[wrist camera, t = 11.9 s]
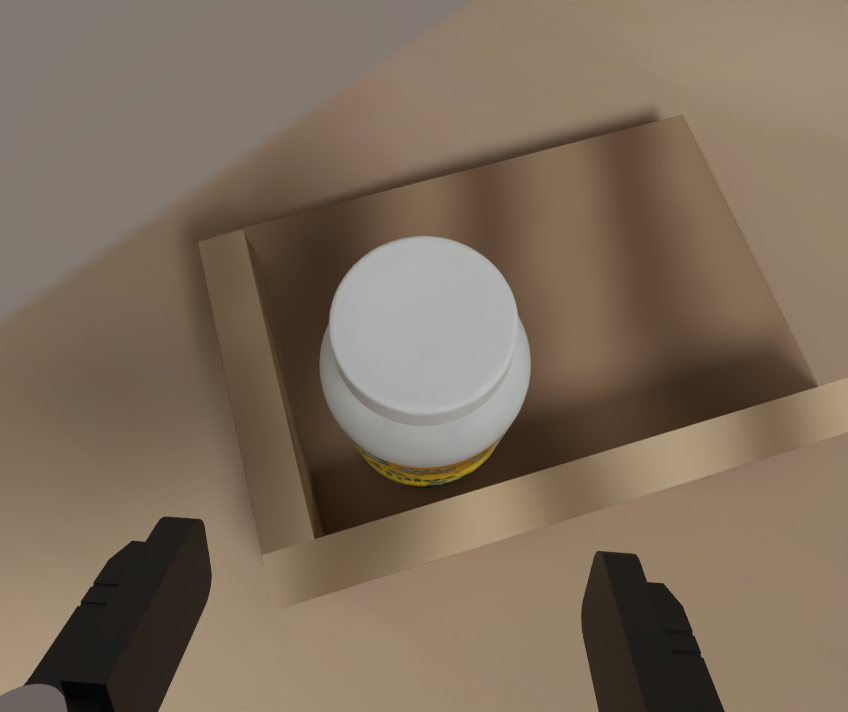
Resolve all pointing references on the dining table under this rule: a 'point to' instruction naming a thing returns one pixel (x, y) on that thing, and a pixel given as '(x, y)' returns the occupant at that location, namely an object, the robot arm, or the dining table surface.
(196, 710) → the dining table surface
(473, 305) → the supplement bottle
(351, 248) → the wooden tray
